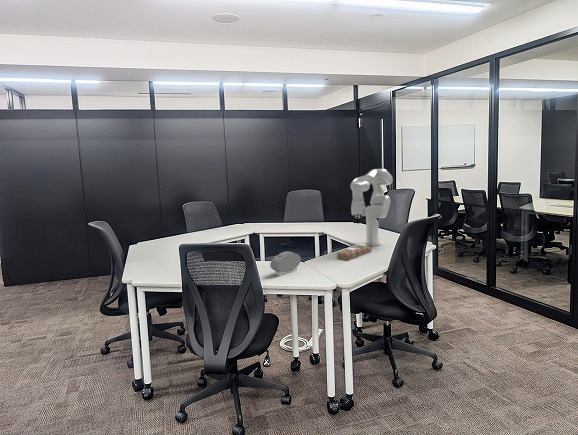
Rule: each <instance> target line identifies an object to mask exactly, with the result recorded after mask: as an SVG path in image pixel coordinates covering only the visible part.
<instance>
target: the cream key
mask: <svg viewBox="0 0 578 435" xmlns="http://www.w3.org/2000/svg"><path fill="white" fill-rule="evenodd" d="M345 250H346V251H347V252H354V251H356V248H353V247H348V248H346V249H345Z"/></svg>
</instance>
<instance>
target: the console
mask: <svg viewBox="0 0 578 435" xmlns="http://www.w3.org/2000/svg"><path fill="white" fill-rule="evenodd" d="M355 247H357V248H359V247H358V245H356V246H354V247H352V248H355ZM372 247H373V246H367V247H365V248H362V249H360V250H356V251H354V252H347V251H346V249H345V250H342V251H339V252H337V253H336V258H337V260H345V261H351V260H354V259H356V258H359V257H362V256H365V255H368V254H370V253H371V252H372Z"/></svg>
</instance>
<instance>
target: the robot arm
mask: <svg viewBox="0 0 578 435" xmlns="http://www.w3.org/2000/svg"><path fill="white" fill-rule="evenodd" d="M393 180H394V179H393V176H392V174H391V173H390V172H389V171H388V170H387V169H385V168H374V169H371V170H370V171H368V173H366V174H365V175H361V176H359V177H355V179H354V180H352V181H351V183H350V186H349V188H350V189H351V192H352V201H351V204H350V205H351V206H350V207H351V208H350V210H351V216H353V217H354V218H355V220H356V224H357V225H358V224H361V222H362V219H361V218H362V217H365V223H366V226H365V227H366V228H365V229H366V230H365V231H366V237H365V238H366V241H365V242H364V244H366V245H367V246H371V247H378V246H380V245H381V242H379V241H381V238H379V221H378V219H384V218H386V217H387V216H388V212H389V210H390V209H389V208H390V206H391V198H390V196H389V195H387V194H386V195H385V190H384V188H383V187H382V186H389V185H391V184H392V183H393ZM370 185H372V188H373V192H372V194H371V198H370V202H369V204H370V205H367V206H366V204H365V201H364V200H365V198H364V194H363V192H367V191H368V190H369V189H370Z"/></svg>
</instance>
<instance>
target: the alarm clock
mask: <svg viewBox="0 0 578 435" xmlns="http://www.w3.org/2000/svg"><path fill="white" fill-rule="evenodd" d="M301 261H302V259H301V256H300V255H299V254H298V253H294V252H293V251H282V252H281V253H278V254H277V255H275V256H274V257H273V258H272V259H271V260H270V263H269V264H270V265H269V266H270V268H271V270H273V271H274V275H276V276H283V275H286V274H288V273H292V272H295V271H297V270H298V266H299V265H300V263H301Z"/></svg>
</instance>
